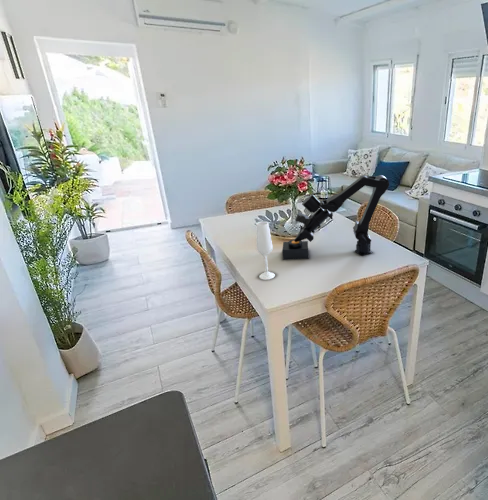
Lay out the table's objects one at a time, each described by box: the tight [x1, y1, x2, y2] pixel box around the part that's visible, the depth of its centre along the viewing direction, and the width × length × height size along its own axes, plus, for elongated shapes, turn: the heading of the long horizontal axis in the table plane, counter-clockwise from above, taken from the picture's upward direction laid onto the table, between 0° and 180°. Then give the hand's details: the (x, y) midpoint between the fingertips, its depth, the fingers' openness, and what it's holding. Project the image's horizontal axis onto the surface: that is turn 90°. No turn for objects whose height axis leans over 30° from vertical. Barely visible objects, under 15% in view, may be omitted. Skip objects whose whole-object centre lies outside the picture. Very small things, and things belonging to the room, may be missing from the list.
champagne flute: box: [255, 220, 276, 280], centre depth 145 cm, size 7×7×24 cm
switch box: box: [281, 238, 310, 261], centre depth 169 cm, size 12×10×7 cm
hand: (295, 241), depth 168 cm, fingers closed, pressing on switch button
